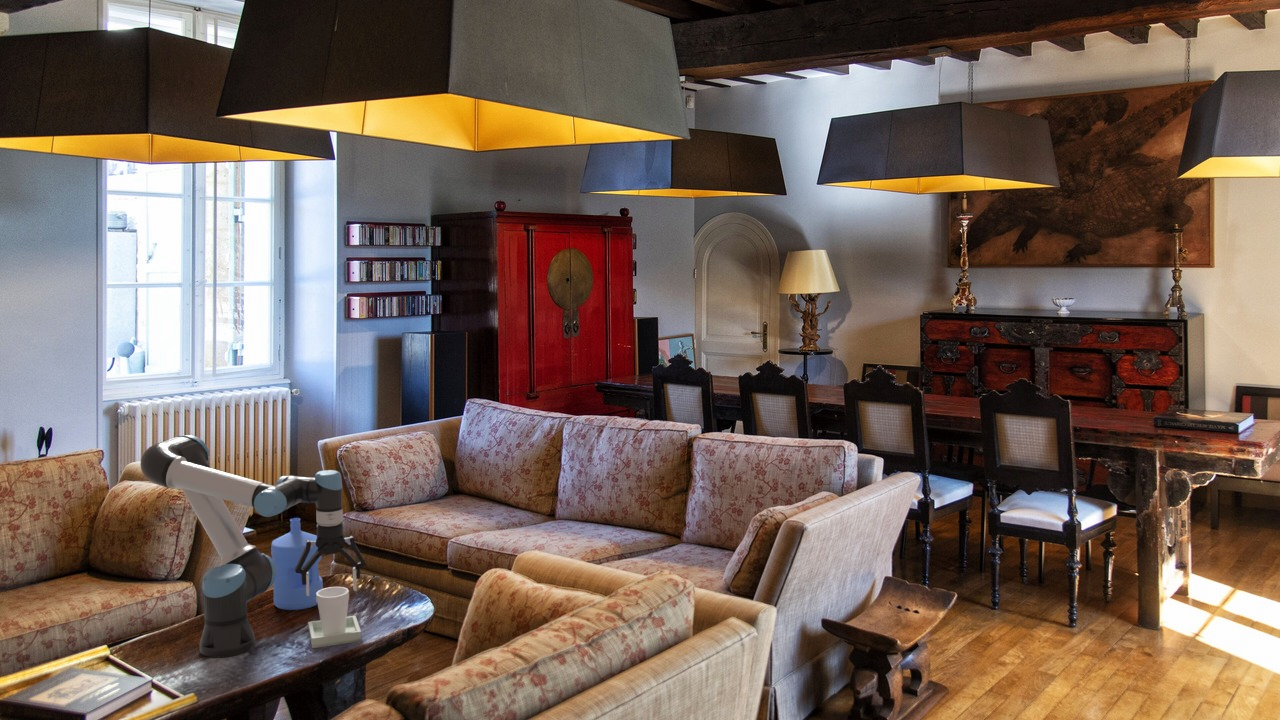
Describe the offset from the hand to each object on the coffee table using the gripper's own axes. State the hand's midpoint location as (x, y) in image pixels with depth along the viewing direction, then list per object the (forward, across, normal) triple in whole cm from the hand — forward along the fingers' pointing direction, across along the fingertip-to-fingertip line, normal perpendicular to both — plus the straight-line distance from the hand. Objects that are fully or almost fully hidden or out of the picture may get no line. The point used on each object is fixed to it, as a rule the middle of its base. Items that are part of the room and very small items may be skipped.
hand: (331, 592), depth 317 cm
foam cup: (+13, 0, 0) cm, 13 cm away
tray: (+14, +1, 0) cm, 14 cm away
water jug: (+14, -7, +34) cm, 37 cm away
